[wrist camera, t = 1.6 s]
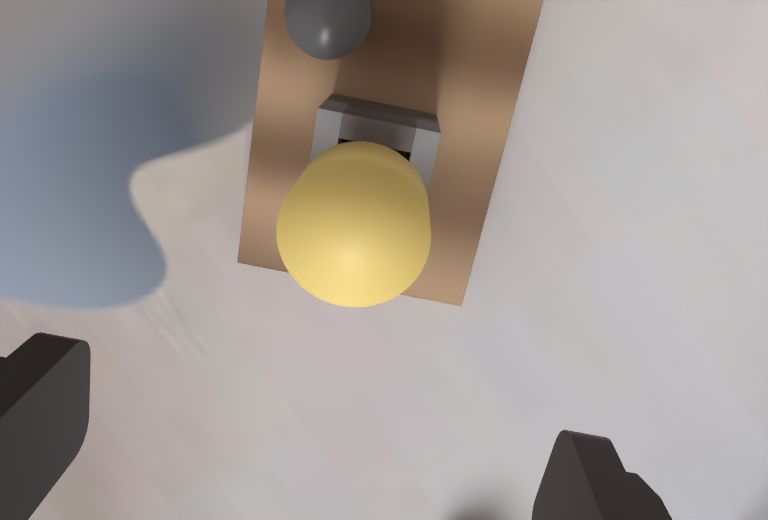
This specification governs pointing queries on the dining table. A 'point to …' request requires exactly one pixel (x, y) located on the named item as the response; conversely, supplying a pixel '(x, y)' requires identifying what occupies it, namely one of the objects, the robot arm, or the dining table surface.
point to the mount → (395, 118)
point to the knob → (355, 225)
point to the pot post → (327, 26)
